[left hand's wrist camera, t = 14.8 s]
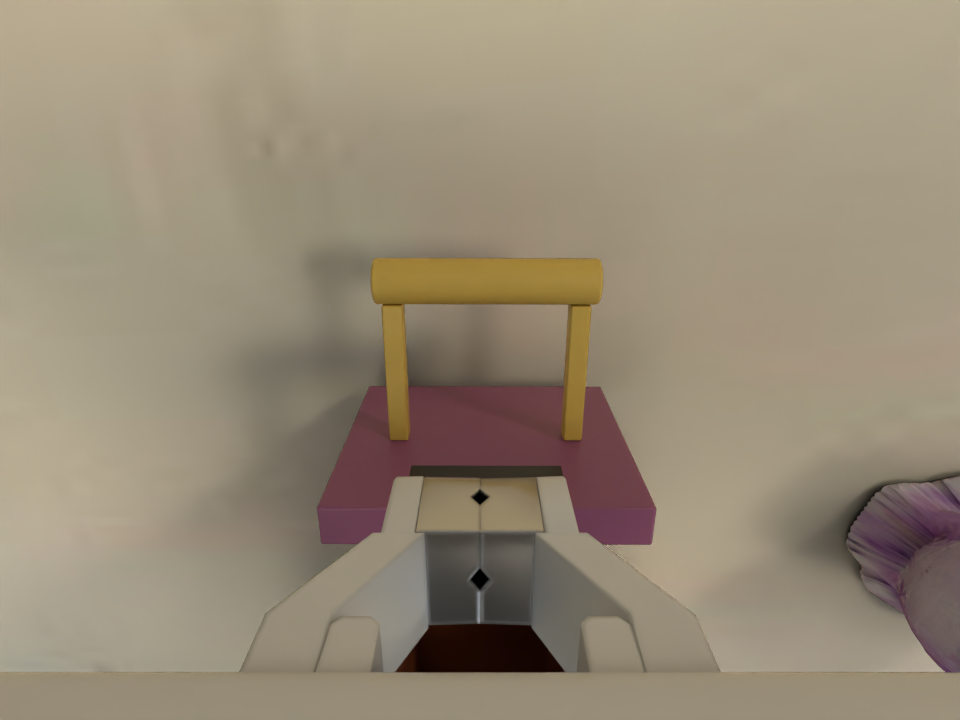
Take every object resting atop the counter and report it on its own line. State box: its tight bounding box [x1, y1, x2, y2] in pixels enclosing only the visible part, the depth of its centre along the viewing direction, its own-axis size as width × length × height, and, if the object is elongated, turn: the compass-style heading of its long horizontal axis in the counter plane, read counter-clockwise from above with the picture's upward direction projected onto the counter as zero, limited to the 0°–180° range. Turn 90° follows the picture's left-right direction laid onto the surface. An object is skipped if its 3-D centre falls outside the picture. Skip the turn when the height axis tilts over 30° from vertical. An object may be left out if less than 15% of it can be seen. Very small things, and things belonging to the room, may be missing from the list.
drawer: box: [317, 258, 656, 672], centre depth 21 cm, size 21×9×8 cm, turn 0°
